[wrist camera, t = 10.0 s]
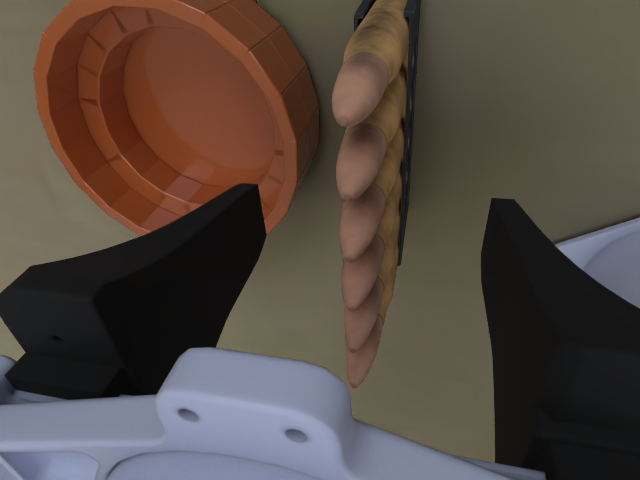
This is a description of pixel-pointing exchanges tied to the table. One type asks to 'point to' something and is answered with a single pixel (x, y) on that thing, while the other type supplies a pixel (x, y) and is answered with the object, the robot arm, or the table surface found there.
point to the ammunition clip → (374, 166)
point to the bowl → (175, 105)
